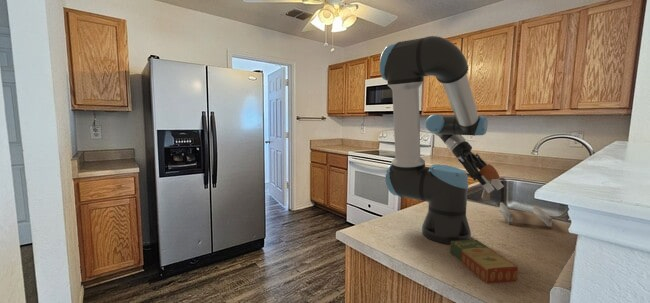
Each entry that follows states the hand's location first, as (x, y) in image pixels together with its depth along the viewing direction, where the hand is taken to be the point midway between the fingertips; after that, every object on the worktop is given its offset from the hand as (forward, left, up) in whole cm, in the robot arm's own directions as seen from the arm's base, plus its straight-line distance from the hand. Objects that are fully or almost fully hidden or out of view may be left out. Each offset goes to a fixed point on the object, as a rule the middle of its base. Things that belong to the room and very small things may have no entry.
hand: (496, 189), depth 111 cm
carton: (-11, -44, -12) cm, 47 cm away
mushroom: (-3, +2, -5) cm, 6 cm away
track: (+10, +1, -11) cm, 15 cm away
